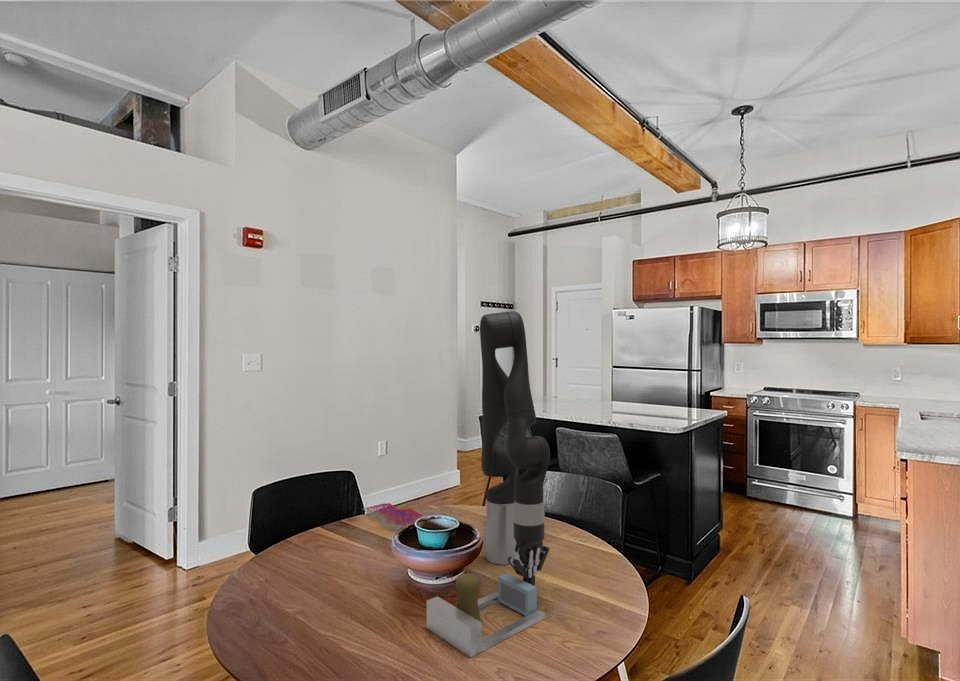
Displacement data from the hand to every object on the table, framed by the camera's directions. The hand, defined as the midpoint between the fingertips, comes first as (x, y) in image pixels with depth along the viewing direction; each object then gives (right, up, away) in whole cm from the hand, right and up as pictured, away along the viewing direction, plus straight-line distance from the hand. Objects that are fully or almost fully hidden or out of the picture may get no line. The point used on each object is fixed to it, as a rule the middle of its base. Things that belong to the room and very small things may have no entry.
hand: (529, 590), depth 128 cm
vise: (-10, -3, -9) cm, 14 cm away
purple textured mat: (-42, -4, +59) cm, 72 cm away
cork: (-15, -3, -10) cm, 18 cm away
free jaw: (-3, -3, -3) cm, 5 cm away
